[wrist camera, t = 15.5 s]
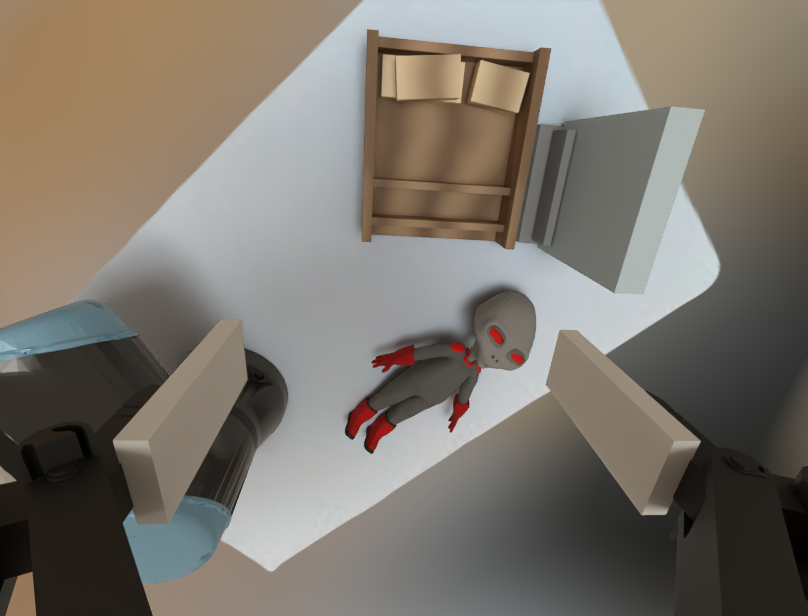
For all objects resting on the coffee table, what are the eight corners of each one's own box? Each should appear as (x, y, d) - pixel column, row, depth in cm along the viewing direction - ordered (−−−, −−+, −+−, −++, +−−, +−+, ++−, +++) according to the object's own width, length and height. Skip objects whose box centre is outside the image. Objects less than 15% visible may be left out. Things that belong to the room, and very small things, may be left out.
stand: (576, 243, 48) (595, 252, 44) (515, 240, 47) (529, 249, 43) (604, 130, 43) (629, 128, 39) (537, 125, 42) (555, 122, 38)
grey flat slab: (564, 121, 41) (671, 106, 26) (587, 123, 41) (705, 109, 27) (538, 247, 46) (614, 293, 32) (558, 248, 47) (643, 294, 32)
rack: (362, 232, 45) (361, 241, 40) (368, 43, 38) (367, 29, 33) (500, 239, 47) (513, 249, 42) (530, 60, 39) (551, 48, 35)
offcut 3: (464, 104, 40) (470, 100, 37) (473, 66, 38) (481, 59, 36) (508, 115, 40) (518, 113, 38) (518, 78, 39) (529, 73, 36)
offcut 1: (381, 98, 39) (381, 96, 37) (382, 58, 38) (382, 54, 36) (456, 105, 40) (460, 103, 38) (461, 66, 38) (465, 62, 36)
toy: (314, 416, 50) (504, 283, 38) (330, 370, 58) (490, 249, 46) (396, 476, 55) (584, 375, 44) (400, 426, 63) (559, 330, 52)
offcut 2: (396, 102, 37) (397, 99, 35) (394, 60, 36) (395, 55, 34) (455, 100, 38) (460, 97, 36) (456, 59, 36) (460, 54, 34)
